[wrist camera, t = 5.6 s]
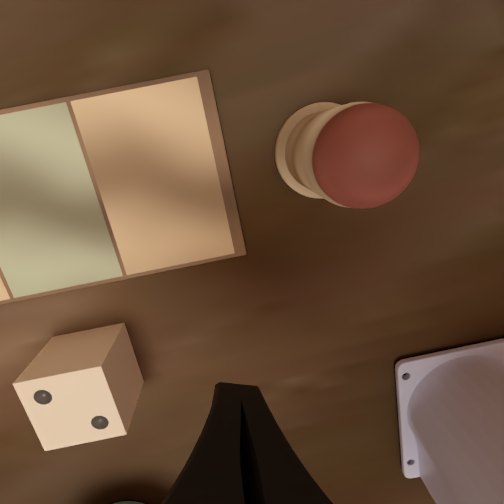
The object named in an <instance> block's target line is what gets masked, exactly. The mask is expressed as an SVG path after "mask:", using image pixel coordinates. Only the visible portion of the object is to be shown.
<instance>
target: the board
mask: <svg viewBox="0 0 504 504" xmlns="http://www.w3.org/2000/svg"><path fill="white" fill-rule="evenodd" d="M242 255H247V254H246V249H245V244H244V239H243V234H242V229H241V224H240V220H239V215H238V210H237V205H236V200H235V195H234V190H233V185H232V180H231V175H230V170H229V165H228V161H227V156H226V151H225V146H224V141H223V136H222V131H221V126H220V121H219V116H218V111H217V106H216V102H215V97H214V92H213V87H212V82H211V77H210V72H209V69H207V70H202V71H197V72H192V73H187V74H182V75H177V76H172V77H166V78H161V79H156V80H151V81H146V82H141V83H136V84H131V85H125V86H120V87H115V88H110V89H105V90H100V91H95V92H89V93H84V94H79V95H74V96H69V97H64V98H59V99H54V100H48V101H43V102H38V103H33V104H28V105H23V106H18V107H12V108H7V109H2V110H0V304H5V303H10V302H15V301H20V300H25V299H30V298H35V297H40V296H45V295H50V294H55V293H60V292H65V291H70V290H74V289H79V288H84V287H89V286H94V285H99V284H104V283H109V282H114V281H119V280H124V279H129V278H134V277H139V276H144V275H148V274H153V273H158V272H163V271H168V270H173V269H178V268H183V267H188V266H193V265H198V264H203V263H208V262H213V261H217V260H222V259H227V258H232V257H237V256H242Z"/></svg>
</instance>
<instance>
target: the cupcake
mask: <svg viewBox="0 0 504 504" xmlns="http://www.w3.org/2000/svg"><path fill="white" fill-rule="evenodd" d="M113 504H144V503H141V502H136V501H121V502H116V503H113Z"/></svg>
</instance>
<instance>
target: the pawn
mask: <svg viewBox="0 0 504 504" xmlns="http://www.w3.org/2000/svg"><path fill="white" fill-rule="evenodd" d="M419 156H420V149H419V142H418V137H417V135H416V132H415V130H414V128H413V126H412V124H411V123H410V122H409V120H408V119H407V118H406V117H405V116H404V115H403V114H401V113H400V112H399V111H397V110H395V109H393V108H392V107H389V106H386V105H383V104H378V103H370V102H352V103H349V104H345V105H339V104H336V103H331V102H320V103H314V104H311V105H308V106H306V107H303V108H301V109H299V110H297V111H296V112H294V113H293V114H292V115H291V116H290V117H289V118H288V119H287V120H286V121H285V122H284V124H283V125H282V127H281V129H280V130H279V133H278V135H277V138H276V141H275V147H274V157H275V163H276V167H277V170H278V172H279V174H280V176H281V178H282V179H283V180H284V182H285V183H286V184H287V185H288V186H290V187H291V188H292V189H293V190H295V191H296V192H298V193H300V194H302V195H304V196H307V197H311V198H324V199H326V200H327V201H329V202H331V203H333V204H335V205H338V206H342V207H348V208H355V209H368V208H374V207H378V206H381V205H383V204H386V203H388V202H390V201H391V200H393V199H394V198H396V197H397V196H398V195H399V194H401V193H402V192H403V191H404V190H405V188H406V187H407V186H408V185H409V183H410V182H411V180H412V179H413V177H414V175H415V172H416V170H417V167H418V163H419Z"/></svg>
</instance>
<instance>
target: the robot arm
mask: <svg viewBox="0 0 504 504" xmlns="http://www.w3.org/2000/svg"><path fill="white" fill-rule="evenodd" d="M405 373H407V374H406V375H404V376H402V375H403V374H405ZM395 375H396V390H397V404H398V419H399V434H400V448H401V463H402V472H403V474H404V476H405V477H406V478H415V477H421V479H422V480H423V482H424V484H425V485H426V487H427V489H428V491H429V492H430V494H431V496H432V498H433V499H434V501H435V503H436V504H504V338H503V339H498V340H493V341H488V342H483V343H479V344H474V345H469V346H464V347H459V348H455V349H450V350H445V351H440V352H435V353H431V354H426V355H421V356H416V357H411V358H407V359H402V360H400V361H398V362H397V363H396V365H395ZM161 504H333V503H332V502H331V501H330V500H329V498H328V497H327V496H326V495H325V494H324V492H323V491H322V490H321V489H320V487H319V486H318V485H317V483H316V482H315V481H314V479H313V478H312V477H311V475H310V474H309V473H308V471H307V470H306V468H305V467H304V466H303V464H302V463H301V461H300V460H299V458H298V457H297V455H296V454H295V452H294V451H293V449H292V448H291V446H290V444H289V443H288V441H287V440H286V438H285V436H284V435H283V433H282V431H281V429H280V428H279V426H278V424H277V423H276V421H275V419H274V417H273V415H272V413H271V411H270V410H269V408H268V406H267V404H266V402H265V400H264V398H263V396H262V393H261V391H260V389H259V388H258V387H257V386H251V385H242V384H232V383H222V382H219V383H218V384H216V385H215V390H214V396H213V401H212V407H211V410H210V413H209V415H208V418H207V420H206V423H205V425H204V428H203V430H202V433H201V435H200V437H199V439H198V441H197V443H196V445H195V447H194V449H193V451H192V453H191V455H190V457H189V459H188V461H187V462H186V464H185V466H184V468H183V470H182V471H181V473H180V475H179V476H178V478H177V480H176V481H175V483H174V485H173V486H172V488H171V489H170V491H169V492H168V494H167V495H166V497H165V498H164V500H163V501H162V503H161Z"/></svg>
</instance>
